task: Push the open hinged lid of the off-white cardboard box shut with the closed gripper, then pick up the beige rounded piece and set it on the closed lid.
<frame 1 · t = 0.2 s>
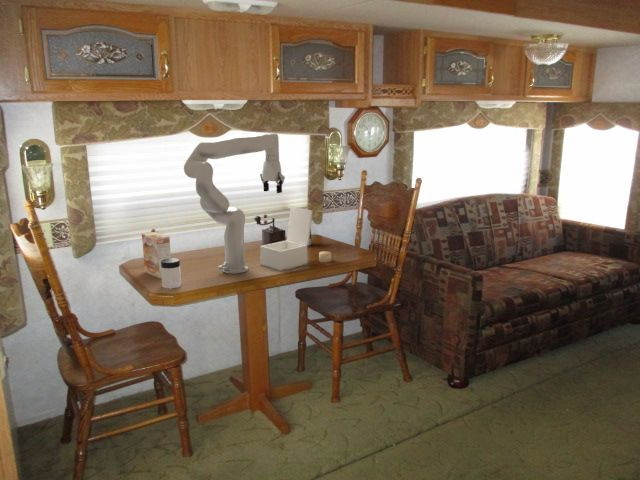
hand: (272, 191, 276), 37 cm above the table, tool pointing down, fingers open, 9 cm apart
beige rounded piece: (325, 261, 284), on the table
box lid: (299, 226, 281), point 18 cm above the table, hinge at 100.0°, touching carton
coffee jar: (303, 245, 319), on the table
jar: (172, 286, 244), on the table
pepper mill: (270, 246, 318), on the table
carton: (283, 264, 277), on the table
coffeecake box: (158, 274, 262), on the table
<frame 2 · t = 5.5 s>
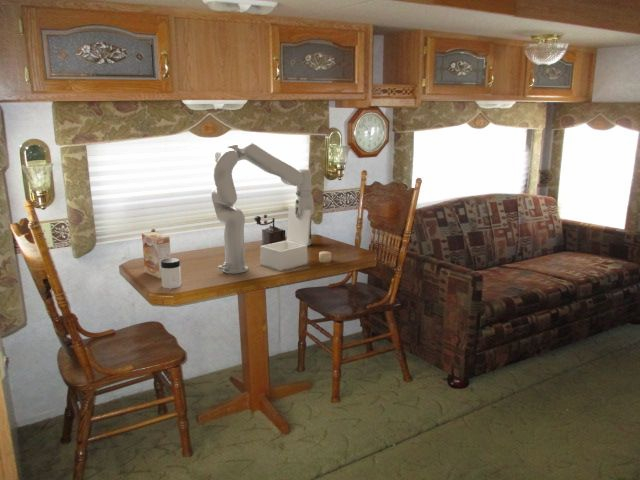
hand: (304, 227, 284), 17 cm above the table, tool pointing down, fingers closed
box lid: (298, 226, 280), point 19 cm above the table, hinge at 96.3°, touching carton, gripper
everything else where it was.
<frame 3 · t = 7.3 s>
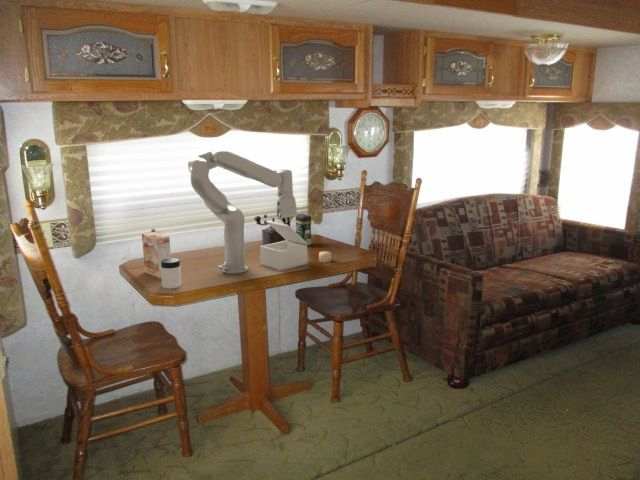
hand: (287, 230, 275), 18 cm above the table, tool pointing down, fingers closed
box lid: (287, 233, 276), point 16 cm above the table, hinge at 41.3°, touching gripper
everything else where it was.
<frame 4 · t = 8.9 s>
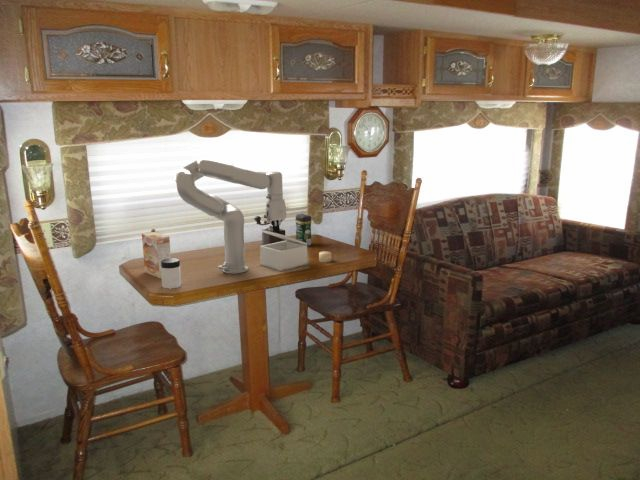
hand: (276, 233, 270), 17 cm above the table, tool pointing down, fingers closed
box lid: (285, 237, 275), point 14 cm above the table, hinge at 23.5°, touching gripper
everything else where it was.
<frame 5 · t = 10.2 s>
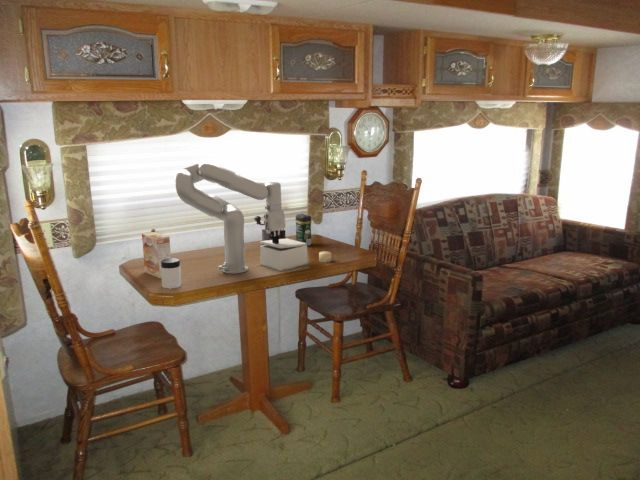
hand: (275, 243, 271), 12 cm above the table, tool pointing down, fingers closed
box lid: (284, 243, 275), point 11 cm above the table, hinge at 4.9°, touching carton, gripper
everything else where it was.
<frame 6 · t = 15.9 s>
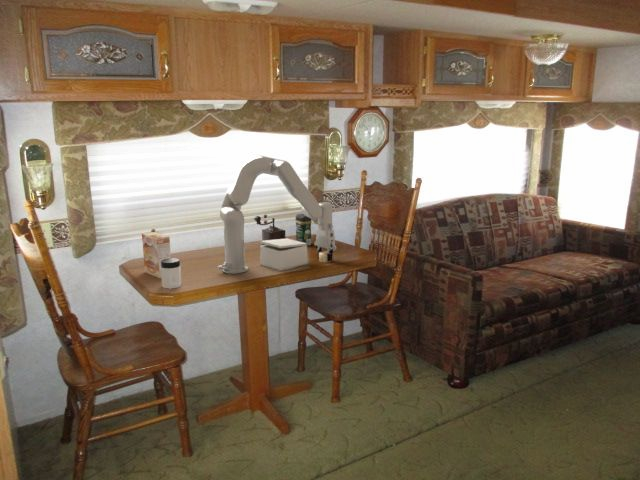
hand: (325, 259, 284), 1 cm above the table, tool pointing down, fingers closed on beige rounded piece, 6 cm apart
beige rounded piece: (325, 260, 284), on the table, touching gripper
box lid: (284, 242, 275), point 11 cm above the table, hinge at 5.3°
everything else where it was.
when the fingers open (13 cm above the table, at t = 20.5 s): beige rounded piece stays where it is, resting on box lid.
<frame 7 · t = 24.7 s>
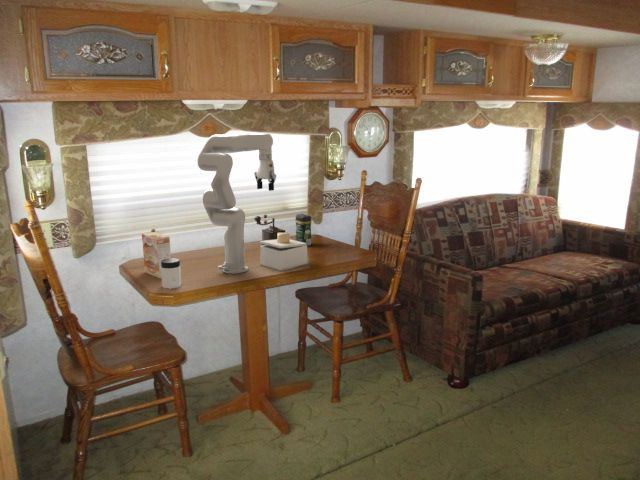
hand: (265, 189, 288), 36 cm above the table, tool pointing down, fingers open, 9 cm apart
beige rounded piece: (283, 242, 275), point 12 cm above the table, tilted 5°, touching box lid
box lid: (284, 243, 275), point 11 cm above the table, hinge at 5.1°, touching beige rounded piece
everything else where it was.
at the end: box lid at +5° (first picture: +100°); beige rounded piece inside the target area on the carton (0.1 cm from its centre), point 11.9 cm above the carton's base; beige rounded piece touching box lid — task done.
